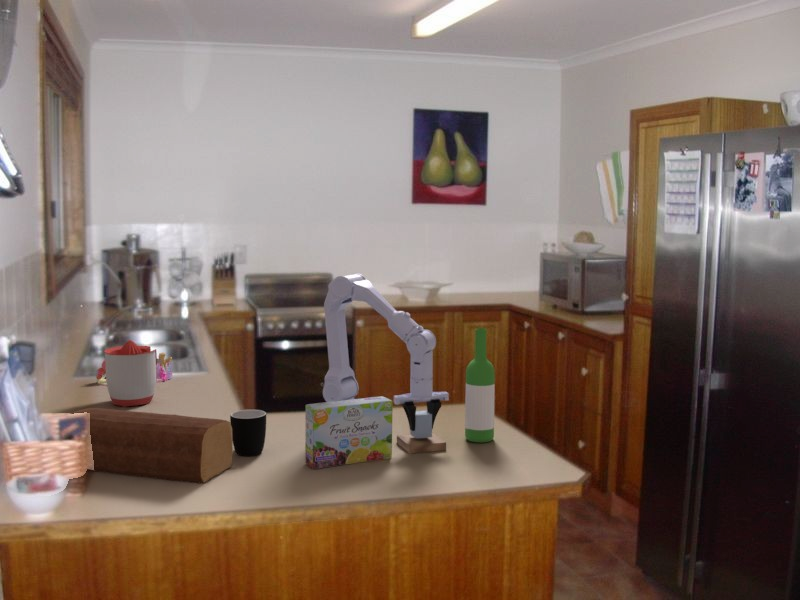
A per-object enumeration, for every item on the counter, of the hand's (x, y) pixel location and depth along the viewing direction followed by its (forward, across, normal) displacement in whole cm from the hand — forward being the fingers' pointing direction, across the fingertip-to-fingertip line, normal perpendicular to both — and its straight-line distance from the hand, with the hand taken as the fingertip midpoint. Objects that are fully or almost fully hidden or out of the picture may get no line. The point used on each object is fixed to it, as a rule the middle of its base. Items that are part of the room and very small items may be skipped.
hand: (421, 429), depth 224 cm
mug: (+5, -44, +10) cm, 45 cm away
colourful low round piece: (+5, -67, +109) cm, 128 cm away
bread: (+5, -68, +5) cm, 69 cm away
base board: (+5, 0, 0) cm, 5 cm away
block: (+2, 0, 0) cm, 2 cm away
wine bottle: (+5, +17, +1) cm, 18 cm away
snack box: (+5, -21, -6) cm, 22 cm away
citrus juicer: (+5, -69, +74) cm, 101 cm away
